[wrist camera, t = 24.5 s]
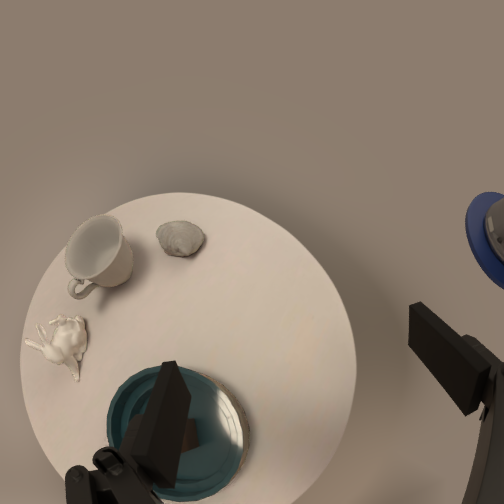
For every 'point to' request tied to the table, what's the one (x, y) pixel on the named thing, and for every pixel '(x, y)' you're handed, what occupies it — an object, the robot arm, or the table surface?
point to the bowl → (207, 426)
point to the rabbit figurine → (63, 342)
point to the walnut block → (190, 436)
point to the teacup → (98, 255)
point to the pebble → (180, 238)
